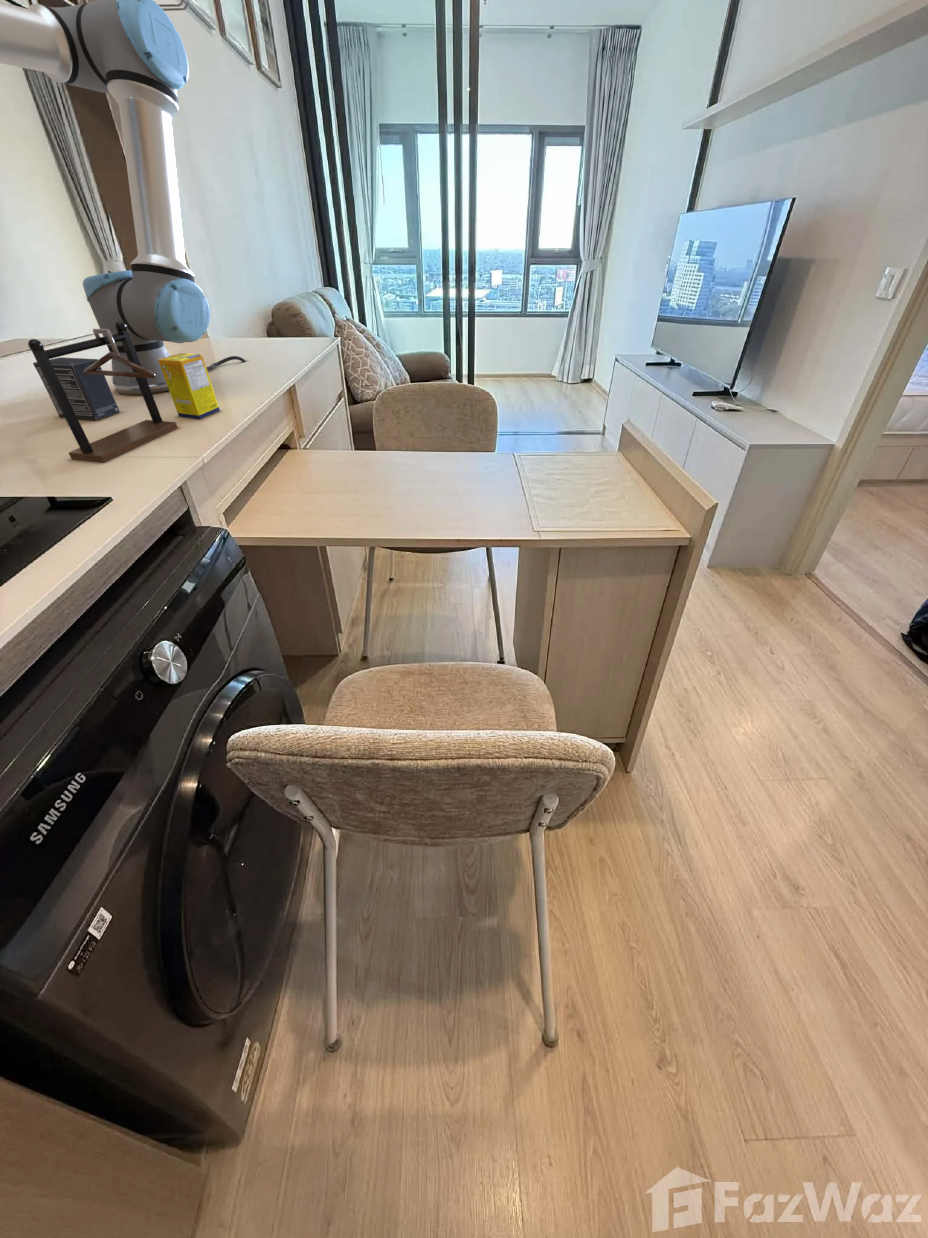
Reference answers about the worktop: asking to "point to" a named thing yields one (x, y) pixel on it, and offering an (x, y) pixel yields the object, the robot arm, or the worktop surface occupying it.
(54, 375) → the clothes rail
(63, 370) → the small box
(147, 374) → the hanger
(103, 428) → the worktop surface
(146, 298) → the robot arm
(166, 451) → the worktop surface
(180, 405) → the supplement box
